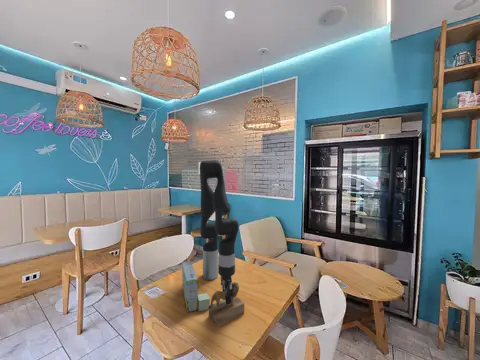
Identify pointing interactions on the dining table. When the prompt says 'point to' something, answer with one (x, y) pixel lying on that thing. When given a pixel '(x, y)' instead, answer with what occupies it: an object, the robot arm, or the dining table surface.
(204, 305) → the sage cube
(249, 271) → the dining table surface
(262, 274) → the dining table surface
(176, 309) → the dining table surface
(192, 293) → the snack box
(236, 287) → the lion figurine
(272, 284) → the dining table surface
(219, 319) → the taupe rectangular block
